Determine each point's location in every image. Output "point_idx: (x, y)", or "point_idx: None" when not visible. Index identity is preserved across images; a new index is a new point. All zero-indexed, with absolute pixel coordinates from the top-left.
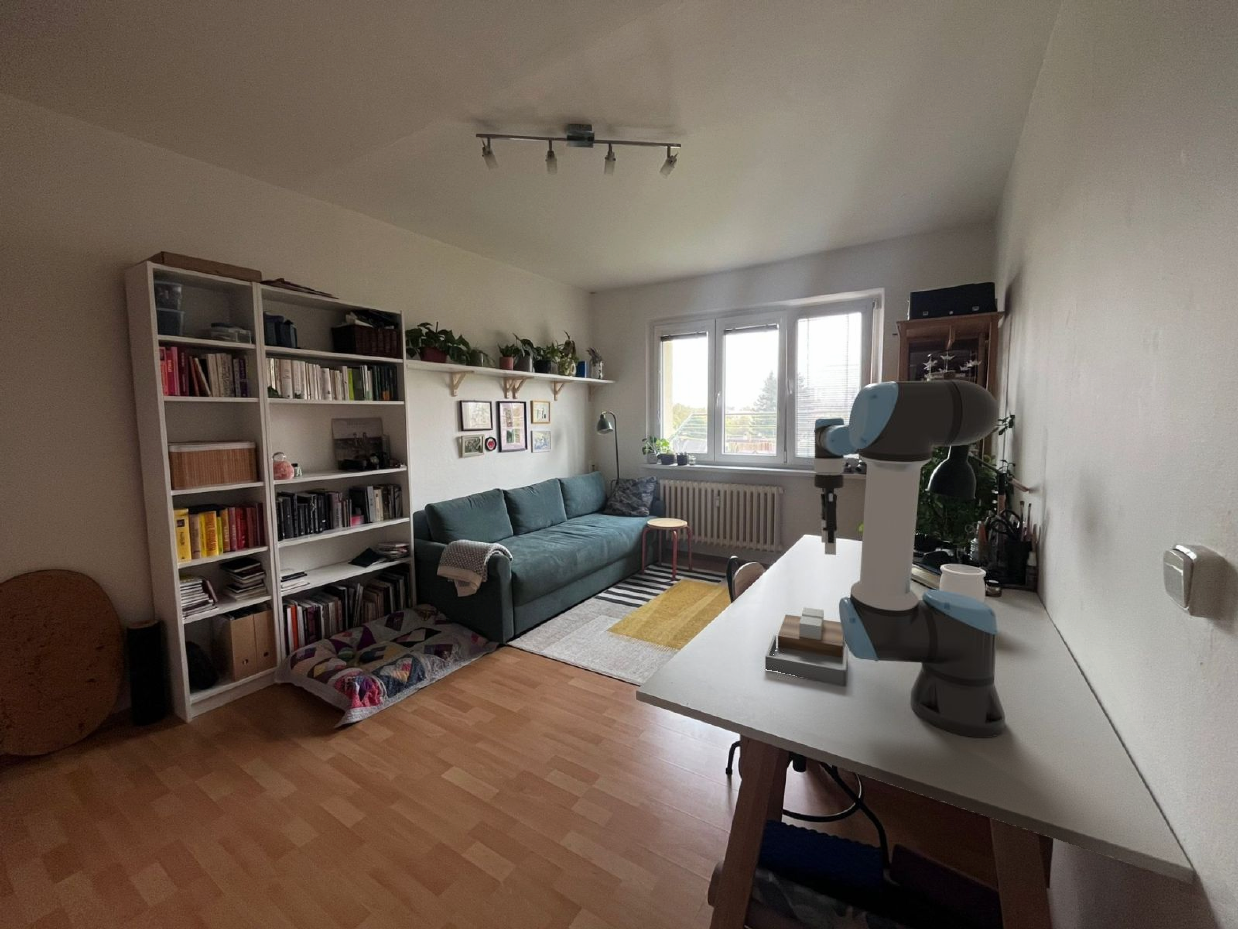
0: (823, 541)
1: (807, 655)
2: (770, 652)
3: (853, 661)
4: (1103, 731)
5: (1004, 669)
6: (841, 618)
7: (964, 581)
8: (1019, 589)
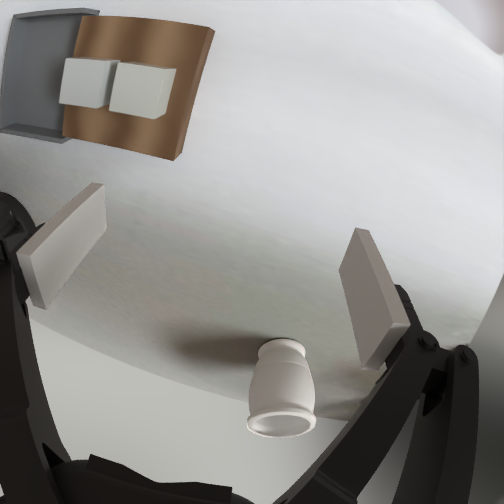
0: (354, 239)
1: None
2: (32, 16)
3: (77, 146)
4: (43, 322)
5: (124, 323)
6: None
7: (252, 408)
8: None
